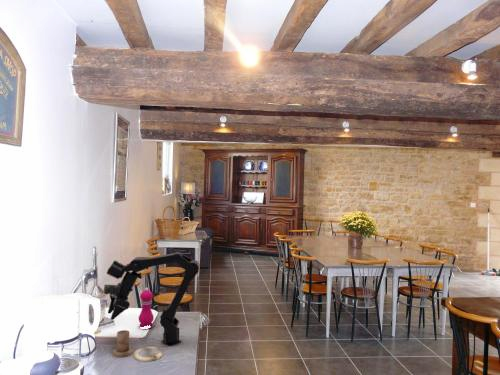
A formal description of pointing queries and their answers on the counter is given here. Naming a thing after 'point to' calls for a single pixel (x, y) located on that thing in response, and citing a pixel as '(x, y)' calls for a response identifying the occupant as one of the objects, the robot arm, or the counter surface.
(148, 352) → the plate
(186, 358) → the counter surface
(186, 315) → the counter surface
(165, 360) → the counter surface
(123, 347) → the brown flanged knob
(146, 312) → the pepper mill
